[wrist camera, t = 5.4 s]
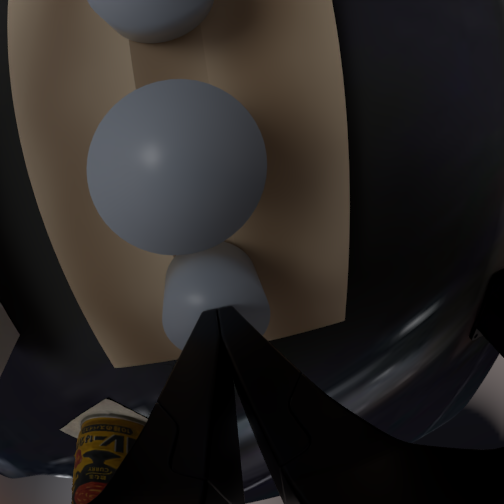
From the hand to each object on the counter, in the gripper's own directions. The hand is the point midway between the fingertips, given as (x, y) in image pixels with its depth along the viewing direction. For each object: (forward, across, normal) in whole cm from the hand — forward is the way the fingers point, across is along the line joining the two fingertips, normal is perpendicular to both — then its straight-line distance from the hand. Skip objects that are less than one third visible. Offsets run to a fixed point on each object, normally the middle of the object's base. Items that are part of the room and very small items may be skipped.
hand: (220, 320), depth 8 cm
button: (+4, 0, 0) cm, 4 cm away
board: (+4, 0, -4) cm, 6 cm away
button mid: (+2, 0, -5) cm, 5 cm away
